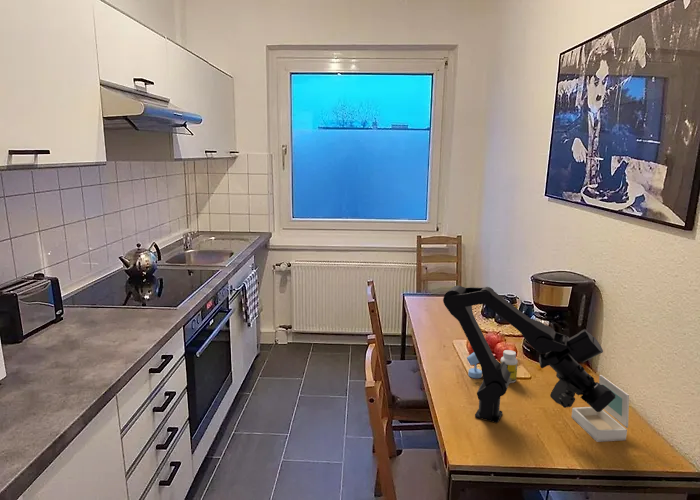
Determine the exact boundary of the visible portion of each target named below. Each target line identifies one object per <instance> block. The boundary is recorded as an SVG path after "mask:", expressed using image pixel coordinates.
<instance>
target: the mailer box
mask: <svg viewBox="0 0 700 500" xmlns="http://www.w3.org/2000/svg"><path fill="white" fill-rule="evenodd" d="M571 418H572V420H573V421H575V423H577V424H578V425H579V426H580V427H581V428H582V429H583V430H584V431H585V433H586V434H588V435H589V436H590V437H591V438H592V439H594V441H595V442H596V443H597V442H598V443H600V442H601V443H602V442H616V441H617V442H618V441H626V440H627V433H628V428H626V427H625V426H624V425H623V424H621V423H620V422H619V421H618V420H617V419H615V418H614V417H613V416H612V415H611V414H609V413H608V412H607V411H606V410H605V409H603V410H602V411H601V412H596V411H595V410H594V409H593V408H592V407H591V406H582V407H581V406H579V407H572V408H571Z"/></svg>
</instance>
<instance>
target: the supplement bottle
mask: <svg viewBox="0 0 700 500" xmlns="http://www.w3.org/2000/svg"><path fill="white" fill-rule="evenodd" d="M502 355H503V356H501V358H500V361H499V363H502V362H505V364H506V367H507V369H508V371H509V372H510V373H511V375H510V383H509V384H512V383H513V384H514V383H515V382H516V381H517V375H518V362H519V361H518V359H517V353H516V351H514V350H512V349H505V350H503V352H502Z"/></svg>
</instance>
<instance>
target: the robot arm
mask: <svg viewBox="0 0 700 500" xmlns="http://www.w3.org/2000/svg"><path fill="white" fill-rule="evenodd" d="M442 301H443V305H444V306H445V308H446V309H447V310H448V312H449V313H450V315H452V317H454V319H456V320H457V321H458V322H459V325H460V327H461V328H462V331H463V332H464V335H465V337H466V339H467V341H468V343H469V345H470V347H471V349H472V351H473V352H474V353H475V355H476V357H477V359H478V361H479V363H478V364H479V366H480V368H481V369H480V370H481V371H482V382H481V384H480V386H479V388H478V390H477V392H476V396H477V398H478V399H477V400H478V409H477V411H476V413H475V414H474V417H475V418H477V419H481V420H485V421H488V422H493V423H496V424H498V423H499V421H500V419H501V417H502V416H503V411H502V410H501V409H500V406H501V397H503V396H504V395H505V394H506V393H507V390H508V388H509V385H510V384H511V383H510V375H511V373H510V372H509V371H508V369H507V367H506V364H505V362H502V363H500V361H498V359H496V357H495V356H494V353H493V352H492V349H491V347H490V346H489V344H488V342H487V340H486V337H485V335H484V334H483V331H482V329H481V327H480V326H479V323H478V321H477V320H476V317H475V314H474V313H473V306H477V305H485V306H487V308H489V309H490V310H491V311H493V312H494V313H495V314H496V315H498V316H499V317H500V318H501V319H503V320H505V321H506V322H507V323H509V325H511V326H512V327H513V328H515V329H516V330H518V332H519V333H520V334H521V335H522V337H523V338H524V340H525V341H526V342H527V344H529V345H530V346H531V347H532V348H533V350H534V351H536V352H537V353H539V357H538V362H539V367H540V369H544V368H546V367H551V369H553V370H554V372H555V373H556V375H555V376H556V378H557V379H558V381H557V382H556V383H555V385H554V386H553V388H552V391H551V393H550V398H551V400H553V401H554V402H555V403H556V404H558V405H560V406H562V407H563V408H564V409H566V408H571V407H572V406H573V405H574V402H575V401H576V398H575V396H576V395H577V396H580V399H582V401H584V402H585V403H587V404H588V406H589V407H592V408H593V409H594V410H595V411H596V412H601V411H602V410H605V409H604V408H605V407H606V406H607V405H608V404H609V403H610V402H611V401H613V400H614V399H615V396H616V395H615V394H614V393H613V392H612V391H611V390H610V389H608V388H607V387H606V386H604V385H600V384H599V381H597V382H596V380H595V378H594V377H593V376H592V374H589V373H588V372H587V371H586V370H585V368H584V366H582V365H581V364H580V363H584V362H587V361H589V360H592V359H593V358H595V357H596V356H597V357H598V356H599V355H601V354H603V353H604V350H603V347H602V345H601V343H600V342H599V340H597V338H596V337H595V336H593V335H592V334H591V333H590V332H588V330H587V329H585V328H584V329H581V331H579V332H577V334H575V335H573V336H571V337H569V336H567V335H566V334H562V333H560V332H557V331H555V329H554V328H552V327H550V326H549V325H547V324H545V323H544V322H541V321H539V320H536V319H533V318H531V317H529V316H528V315H526V314H525V313H523V311H521V310H520V309H518V308H517V307H515V306H514V305H513V304H511V303H510V302H509V301H507V300H506V299H505V298H504V297H502V296H501V295H500V294H498V293H497V292H496V291H494V289H493V288H492V287H490V286H484V287H479V286H478V287H475V286H469V287H464V286H461V285H454V286H453V287H451V288H450V289H448V291H447V292H445V294H444V295H443V298H442Z"/></svg>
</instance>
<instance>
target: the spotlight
mask: <svg viewBox="0 0 700 500" xmlns="http://www.w3.org/2000/svg"><path fill="white" fill-rule="evenodd" d="M466 360H467V362H468V363H469V365H470V366H473V365H474V367H471V368H469V369H468V377H469V378H471V379H481V378H483V376H482V369H480V368H478V367H477V366H478V365H477V364H480V363H479V361H478V359H477V357H476V355H475V353H474V351H473V352H472V353H470V354H469V355H468V356H467V357H466Z"/></svg>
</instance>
